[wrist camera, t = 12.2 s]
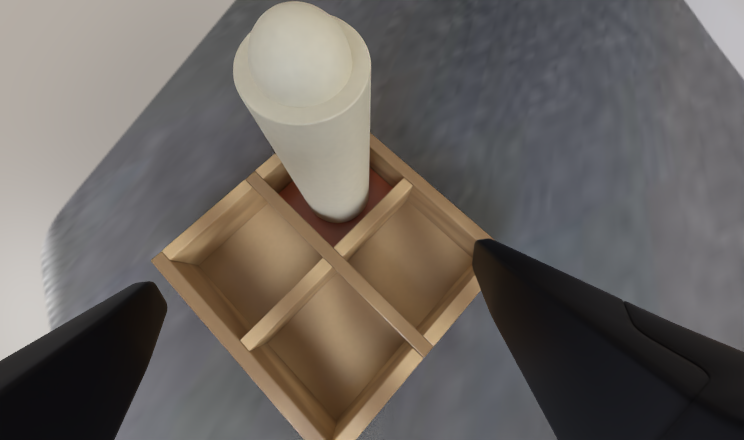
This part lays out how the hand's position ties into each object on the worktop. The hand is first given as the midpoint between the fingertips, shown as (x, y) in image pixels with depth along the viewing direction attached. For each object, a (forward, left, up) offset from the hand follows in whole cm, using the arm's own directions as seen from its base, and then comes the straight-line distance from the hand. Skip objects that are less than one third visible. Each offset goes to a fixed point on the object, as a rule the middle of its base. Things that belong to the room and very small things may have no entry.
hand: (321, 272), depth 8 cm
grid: (+1, +2, -12) cm, 12 cm away
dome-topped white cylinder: (+4, +5, -11) cm, 13 cm away
